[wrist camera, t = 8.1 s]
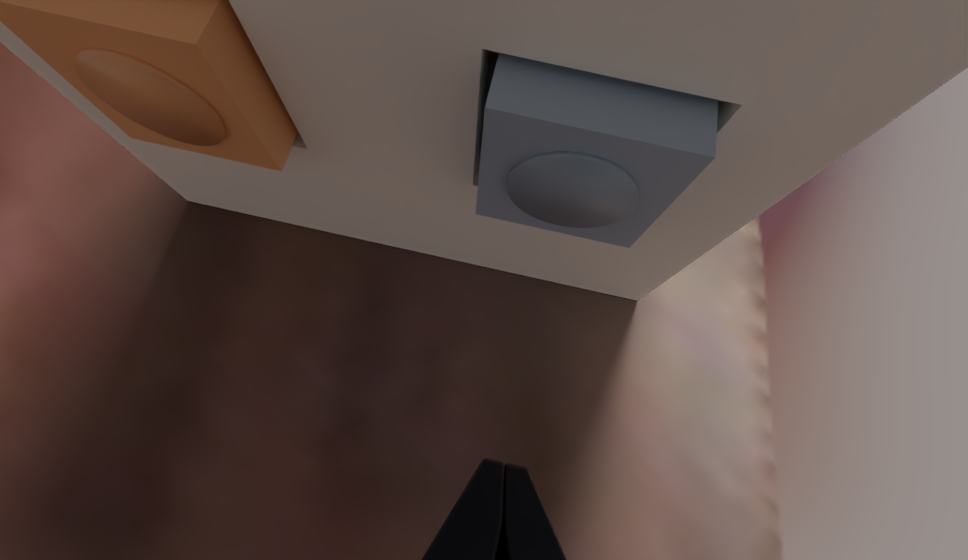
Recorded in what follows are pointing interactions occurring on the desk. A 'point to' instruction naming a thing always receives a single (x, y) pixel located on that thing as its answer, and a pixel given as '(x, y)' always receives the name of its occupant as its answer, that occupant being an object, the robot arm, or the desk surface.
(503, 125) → the slate button
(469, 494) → the robot arm
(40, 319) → the desk surface
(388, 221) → the control box
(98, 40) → the orange button
